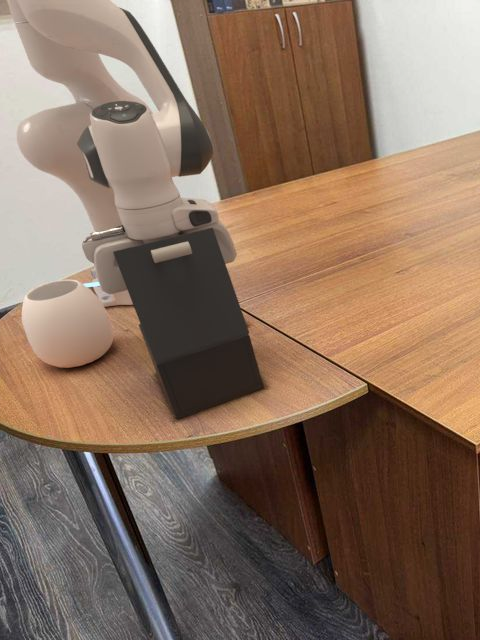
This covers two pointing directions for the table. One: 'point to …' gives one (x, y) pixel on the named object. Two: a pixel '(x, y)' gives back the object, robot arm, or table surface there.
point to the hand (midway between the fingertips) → (180, 301)
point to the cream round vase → (66, 323)
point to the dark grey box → (208, 375)
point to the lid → (181, 293)
